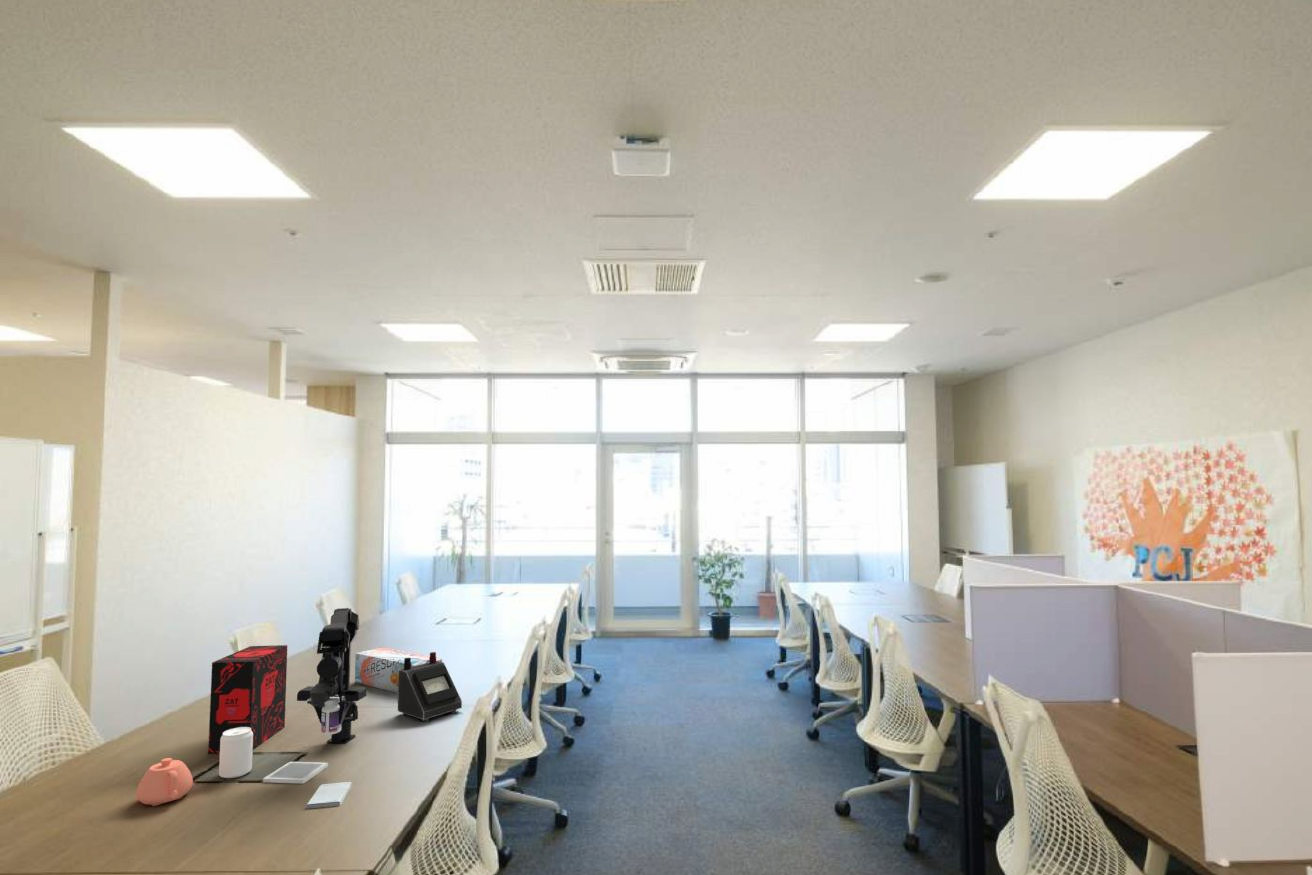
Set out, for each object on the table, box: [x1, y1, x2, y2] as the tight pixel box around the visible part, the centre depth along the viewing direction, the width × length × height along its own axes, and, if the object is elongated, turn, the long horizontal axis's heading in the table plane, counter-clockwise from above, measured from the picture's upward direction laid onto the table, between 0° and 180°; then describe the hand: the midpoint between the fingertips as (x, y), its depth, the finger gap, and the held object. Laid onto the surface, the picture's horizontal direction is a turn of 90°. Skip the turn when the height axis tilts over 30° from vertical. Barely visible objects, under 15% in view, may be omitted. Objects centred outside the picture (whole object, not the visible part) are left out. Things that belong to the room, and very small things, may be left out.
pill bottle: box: [320, 697, 341, 736], centre depth 202 cm, size 5×5×10 cm
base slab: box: [262, 761, 329, 785], centre depth 196 cm, size 12×12×1 cm
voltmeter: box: [397, 651, 463, 723], centre depth 250 cm, size 16×16×20 cm
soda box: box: [354, 647, 443, 694], centre depth 286 cm, size 41×14×13 cm, turn 58°
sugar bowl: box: [135, 757, 194, 807], centre depth 181 cm, size 12×14×10 cm
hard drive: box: [305, 781, 353, 809], centre depth 181 cm, size 2×8×12 cm
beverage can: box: [218, 727, 253, 779], centre depth 197 cm, size 8×8×12 cm
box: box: [207, 644, 288, 755], centre depth 225 cm, size 23×12×28 cm, turn 4°
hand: (331, 723), depth 202 cm, fingers closed on pill bottle, 5 cm apart
